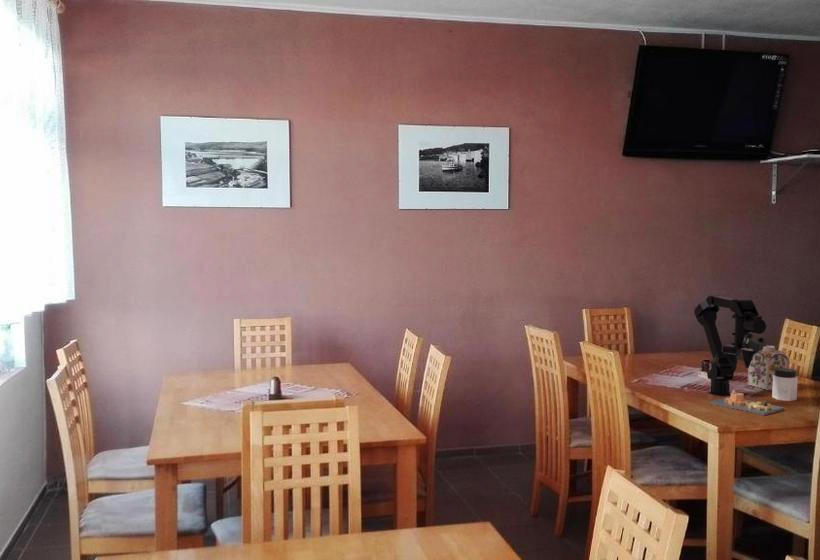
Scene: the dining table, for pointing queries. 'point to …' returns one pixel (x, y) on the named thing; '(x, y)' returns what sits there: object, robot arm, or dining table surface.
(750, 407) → the gear board
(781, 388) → the jar
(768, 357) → the decorative jar
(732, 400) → the loose gear
